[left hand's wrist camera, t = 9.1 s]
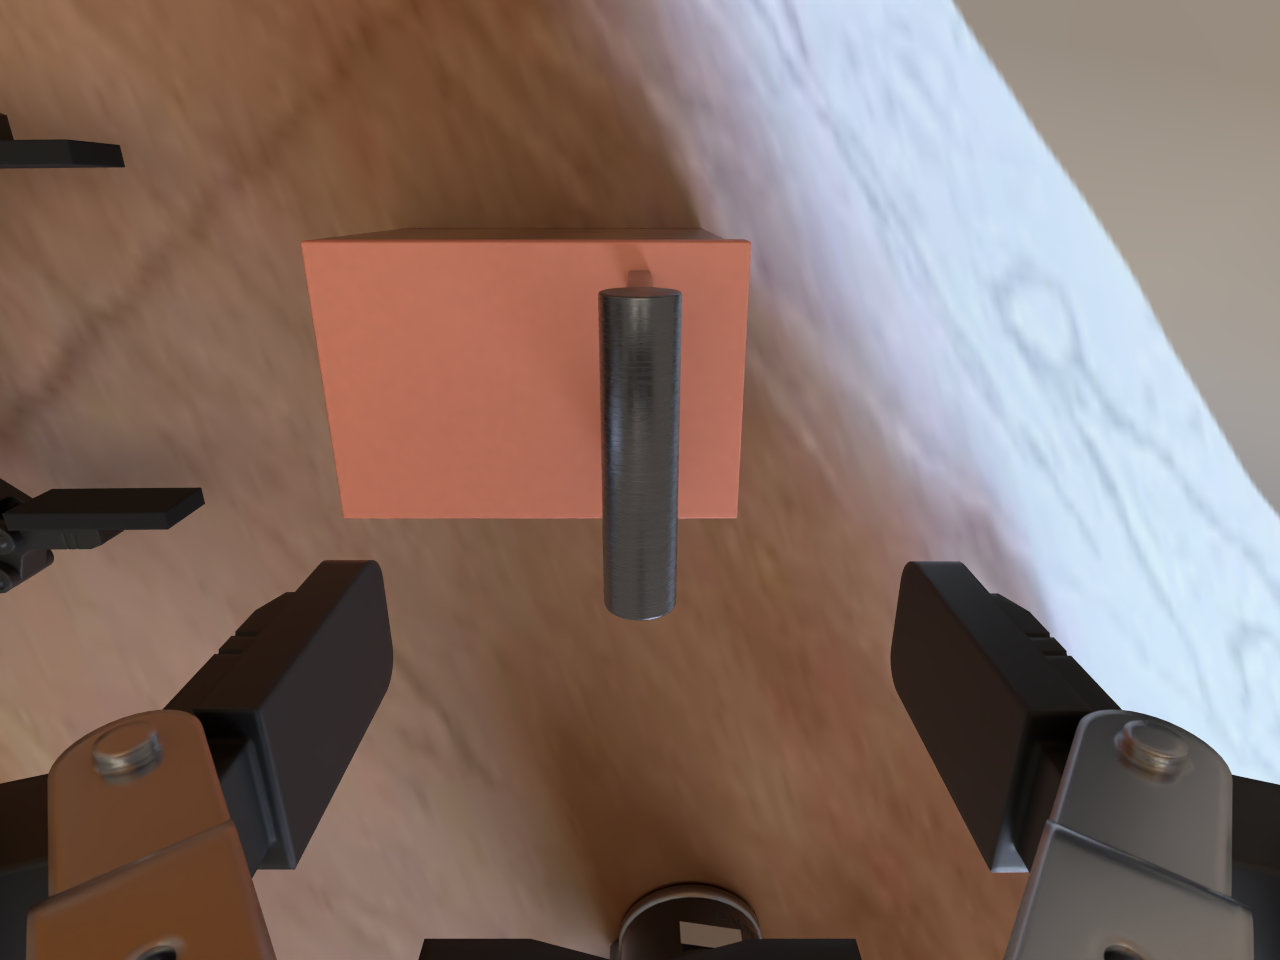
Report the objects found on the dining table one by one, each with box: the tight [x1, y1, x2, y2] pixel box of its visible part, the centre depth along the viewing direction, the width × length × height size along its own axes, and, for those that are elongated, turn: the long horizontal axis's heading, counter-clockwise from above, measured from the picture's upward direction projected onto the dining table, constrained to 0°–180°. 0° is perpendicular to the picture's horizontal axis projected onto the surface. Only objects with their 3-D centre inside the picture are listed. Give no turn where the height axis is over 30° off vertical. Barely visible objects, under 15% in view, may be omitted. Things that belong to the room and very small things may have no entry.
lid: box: [301, 239, 751, 620], centre depth 21 cm, size 14×10×9 cm
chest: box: [324, 228, 723, 239], centre depth 30 cm, size 14×9×10 cm
